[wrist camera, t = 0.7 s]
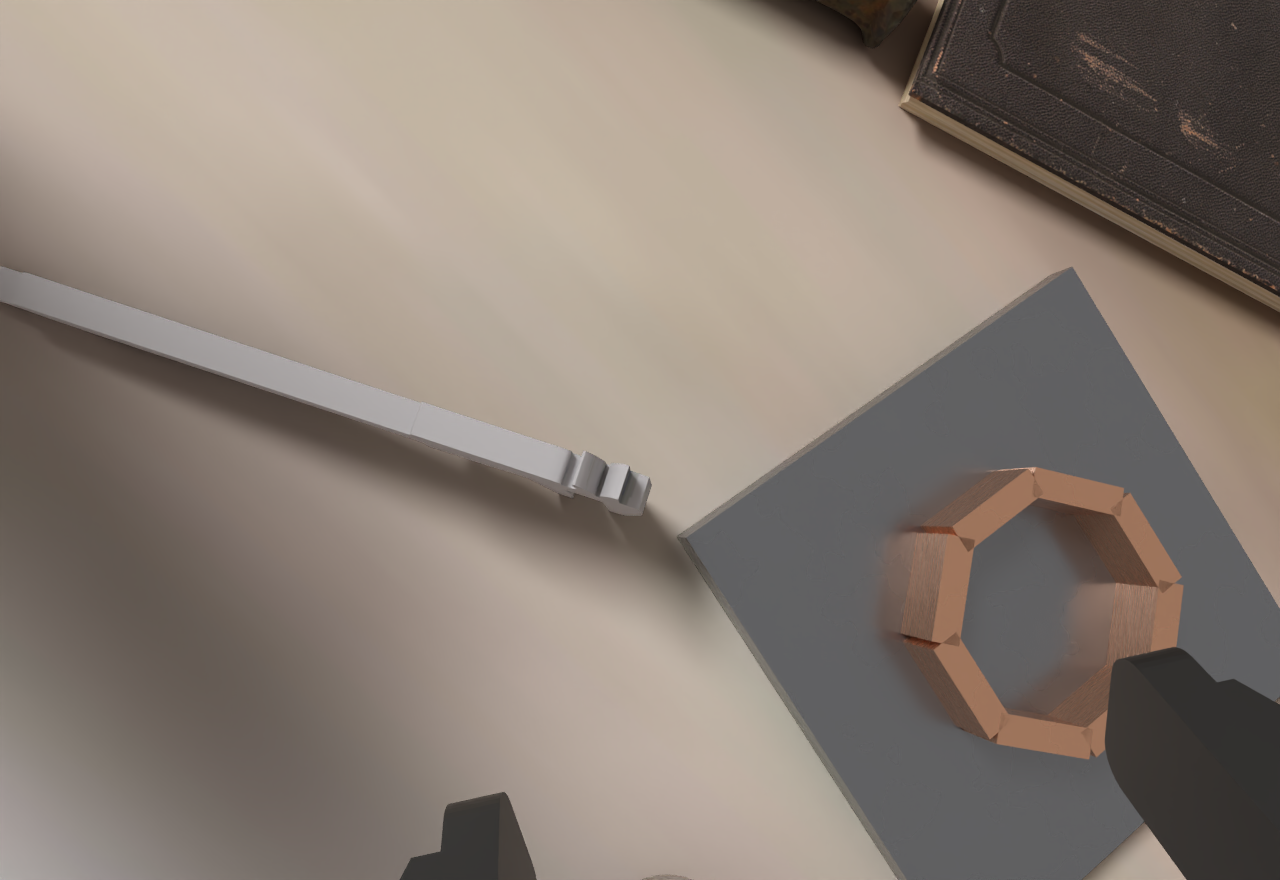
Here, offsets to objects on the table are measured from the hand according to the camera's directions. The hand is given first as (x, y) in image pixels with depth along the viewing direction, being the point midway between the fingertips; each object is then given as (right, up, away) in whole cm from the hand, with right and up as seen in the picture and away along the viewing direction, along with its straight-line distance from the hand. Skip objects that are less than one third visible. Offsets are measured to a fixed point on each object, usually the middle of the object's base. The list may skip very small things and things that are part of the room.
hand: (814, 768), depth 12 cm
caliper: (-12, +6, +18) cm, 22 cm away
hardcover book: (+20, +19, +26) cm, 38 cm away
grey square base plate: (+11, -2, +22) cm, 24 cm away
